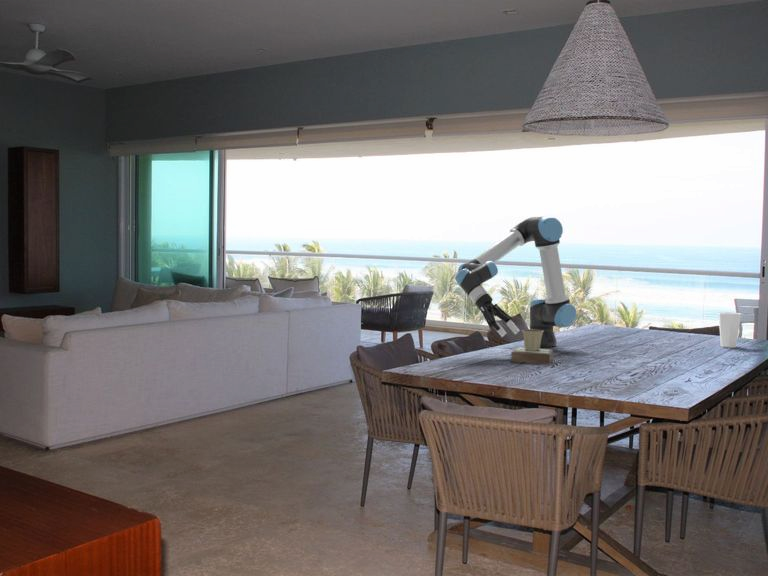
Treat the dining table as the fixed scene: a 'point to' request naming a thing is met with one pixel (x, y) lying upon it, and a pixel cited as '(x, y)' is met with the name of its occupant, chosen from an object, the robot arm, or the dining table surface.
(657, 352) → the dining table surface
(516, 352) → the brown flat square box
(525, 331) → the flower pot
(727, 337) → the cup
